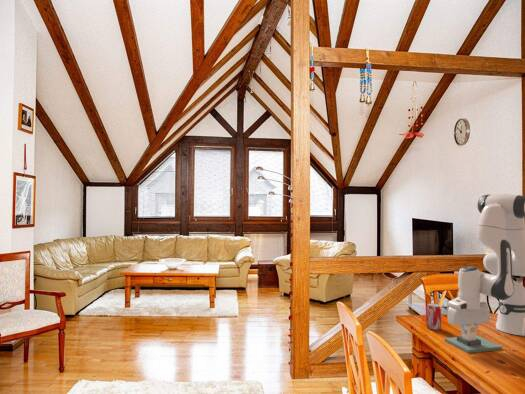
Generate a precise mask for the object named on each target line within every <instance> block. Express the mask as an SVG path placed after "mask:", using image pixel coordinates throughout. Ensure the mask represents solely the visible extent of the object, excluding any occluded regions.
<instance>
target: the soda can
mask: <svg viewBox="0 0 525 394" xmlns="http://www.w3.org/2000/svg"><path fill="white" fill-rule="evenodd" d="M425 308H426V309H425V325H426V327H427V328H428V329H430V330H433V331H437V330H440V329H442V308H441V306H440V304H438V303H433V302H432V303H431V302H429V303H427V305H426V307H425Z"/></svg>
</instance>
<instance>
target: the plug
mask: <svg viewBox="0 0 525 394" xmlns="http://www.w3.org/2000/svg"><path fill="white" fill-rule="evenodd" d="M464 328H465V330H467V334H462V333H461V336H462V338H463V339H465V340H467V341H475V340H476V335H477V333H476V326H475V325H474V324H466V325H465V327H464Z"/></svg>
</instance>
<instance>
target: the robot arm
mask: <svg viewBox="0 0 525 394" xmlns="http://www.w3.org/2000/svg"><path fill="white" fill-rule="evenodd" d="M477 210H478V212H479V213H480V216H479V218H478V219H479V220H478V223H477V230H476V237H477V240H478V241H479V242H480V244H482V245H483V246H485V247H486V248H488V249H490V250H491V251H493V252H487V253H486V254H485V255H484V257H483V261H482V263H483V266H484V269H485V270H486V271H487V272H489V273H486V272H483V271H481V270H479V268H478V267H477V266H474V265H464V266H462V267H461V268H460V269H459V271H458V275H457V276H458V277H457V279H458V280H457V287H458V293H457V297H455V298H453V299H451V300H449V301H448V303H447V305H448V306H449V307H448V309H447V323H448V324H450V325H451V326H455V327H456V326H459V328H460V333H461V335H462V334H467V330H465V328H464V327H465V325H466V324H473V325H475V326H476V334H477V332H478V329H479V327H480V324H485V323H490V320H491V317H490V316H491V314H490V310H489V304H488V303H487V302H486V301H481V295H480V294H482V295H485V296H489V297H493V298H494V299H498V311H497V317H496V322H495V329H496V330H498V331H500V332H502V333H505V334H506V333H507V334H510V335H516V336H522V337H525V286H523V285H522V284H521V283H519V282H517V281H515V280H514V279H513V276H516V277H517V276H519V277H525V195H520V194H518V195H515V194H508V193H506V194H505V193H504V194H484V195H481V196H480V197H479V199H478V202H477Z"/></svg>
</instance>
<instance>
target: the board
mask: <svg viewBox="0 0 525 394" xmlns="http://www.w3.org/2000/svg"><path fill="white" fill-rule="evenodd" d="M444 342H445V343H448V344H450V345H452V346H454V347H455V348H457V349H459V350H461V351H463V352H465V353H467V354H474V353H480V352H481V353H482V352H490V351H499V350H503V346H501V345H499V344H497V343H495V342H493V341H490V340H488V339H486V338H484V337H482V336H479V335H477V334H476V340H475V341H467V340H465V339H463V338H462V335H459V336H458V335H457V336H454V337H445V338H444Z"/></svg>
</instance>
